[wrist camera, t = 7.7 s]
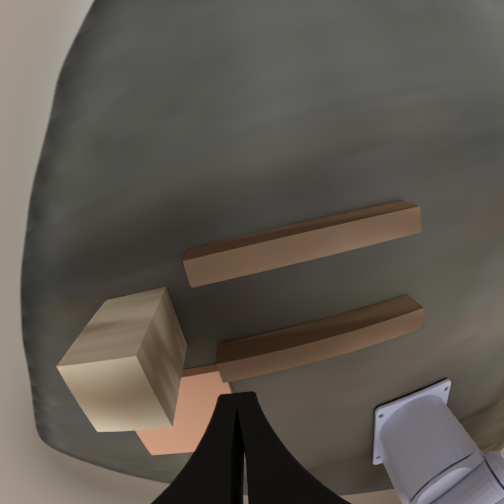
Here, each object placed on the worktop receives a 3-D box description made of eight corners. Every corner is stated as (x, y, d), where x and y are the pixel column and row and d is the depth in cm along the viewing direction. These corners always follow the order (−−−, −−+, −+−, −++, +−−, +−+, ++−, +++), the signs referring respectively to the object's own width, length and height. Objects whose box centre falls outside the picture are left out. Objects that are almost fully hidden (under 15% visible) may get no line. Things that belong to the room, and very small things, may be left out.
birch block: (187, 344, 22) (172, 427, 14) (130, 354, 22) (97, 431, 14) (166, 285, 20) (136, 355, 13) (106, 299, 20) (56, 366, 13)
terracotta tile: (249, 435, 25) (250, 443, 24) (153, 447, 25) (151, 454, 24) (223, 362, 22) (223, 370, 21) (112, 379, 22) (108, 386, 21)
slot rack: (406, 312, 22) (422, 327, 20) (223, 361, 22) (223, 383, 20) (400, 200, 20) (419, 206, 17) (188, 248, 20) (182, 260, 17)
